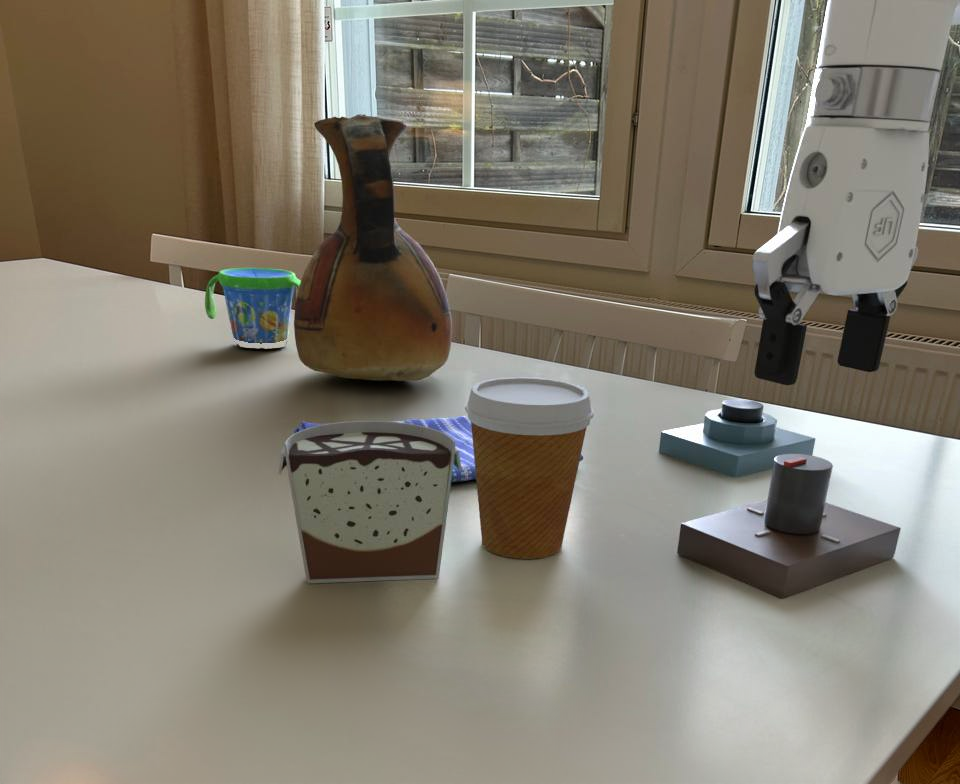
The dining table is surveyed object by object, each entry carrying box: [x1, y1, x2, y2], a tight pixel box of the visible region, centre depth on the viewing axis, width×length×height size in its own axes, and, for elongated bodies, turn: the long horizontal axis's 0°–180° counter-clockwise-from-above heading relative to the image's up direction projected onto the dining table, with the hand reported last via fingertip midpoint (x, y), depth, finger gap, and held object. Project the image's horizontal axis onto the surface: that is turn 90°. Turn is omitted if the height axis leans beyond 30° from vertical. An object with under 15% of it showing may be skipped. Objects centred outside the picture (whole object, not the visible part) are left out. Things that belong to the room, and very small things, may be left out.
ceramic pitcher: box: [293, 113, 453, 382], centre depth 119 cm, size 20×20×30 cm
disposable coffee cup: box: [464, 376, 595, 560], centre depth 74 cm, size 10×10×12 cm
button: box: [720, 398, 764, 423], centre depth 98 cm, size 4×4×2 cm
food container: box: [278, 420, 462, 584], centre depth 70 cm, size 12×6×10 cm, turn 100°
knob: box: [764, 454, 834, 534], centre depth 74 cm, size 4×4×5 cm
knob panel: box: [676, 499, 902, 599], centre depth 76 cm, size 14×10×3 cm
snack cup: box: [204, 267, 301, 344], centre depth 140 cm, size 16×10×10 cm
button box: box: [658, 408, 816, 479], centre depth 100 cm, size 12×10×4 cm
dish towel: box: [293, 415, 584, 483], centre depth 95 cm, size 17×24×3 cm
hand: (817, 374), depth 71 cm, fingers open, 9 cm apart
